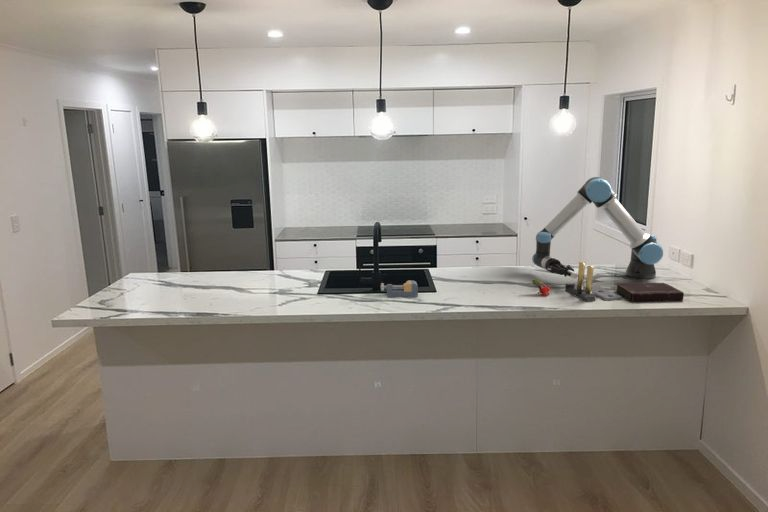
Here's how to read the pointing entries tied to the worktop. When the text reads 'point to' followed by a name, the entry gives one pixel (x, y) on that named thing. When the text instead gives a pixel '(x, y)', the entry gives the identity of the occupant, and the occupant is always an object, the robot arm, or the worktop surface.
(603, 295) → the flange plate
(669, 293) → the diary
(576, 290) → the sliding leg
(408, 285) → the vise
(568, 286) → the dividers rail
